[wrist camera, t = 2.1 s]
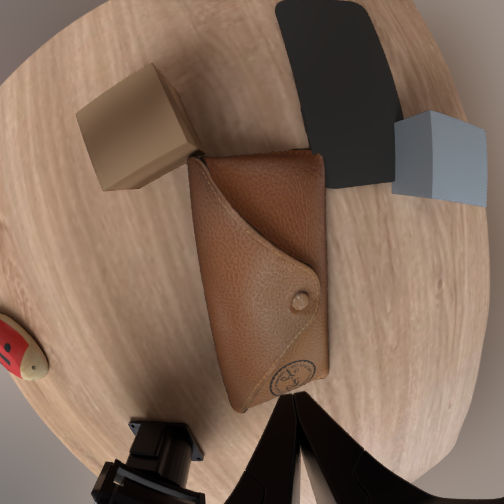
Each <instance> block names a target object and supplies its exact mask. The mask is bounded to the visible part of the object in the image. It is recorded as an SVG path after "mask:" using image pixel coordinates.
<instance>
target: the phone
mask: <svg viewBox="0 0 504 504" xmlns="http://www.w3.org/2000/svg"><path fill="white" fill-rule="evenodd" d="M275 13H276V17H277V20H278V23H279V26H280V30H281V33H282V36H283V40H284V43H285V47H286V50H287V54H288V57H289V61H290V65H291V68H292V72H293V76H294V80H295V84H296V88H297V92H298V96H299V100H300V105H301V112H302V117H303V121H304V126H305V131H306V133H307V137H308V142H309V147H310V149H311V151H312V154H313V155H315V154H317V153H319V154H320V155H321V156H323V160H324V166H325V187H326V188H331V189H338V188H346V187H354V186H362V185H370V184H378V183H386V182H395V127H394V123H396V122H398V121H401V120H404V118H403V114H402V110H401V106H400V102H399V98H398V95H397V91H396V88H395V84H394V81H393V78H392V75H391V71H390V68H389V65H388V63H387V60H386V57H385V54H384V51H383V49H382V46H381V43H380V41H379V38H378V36H377V33H376V31H375V29H374V26H373V24H372V22H371V19H370V17H369V15H368V13H367V12H366V10H365V9H364V8H363V7H362V6H361V5H359V4H357V3H354V2H350V1H340V0H284V1H281V2H279V3H278V4H277V5H276V8H275Z"/></svg>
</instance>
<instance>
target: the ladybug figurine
mask: <svg viewBox="0 0 504 504" xmlns="http://www.w3.org/2000/svg"><path fill="white" fill-rule="evenodd" d="M0 363H1V364H2V365H3V366H4V367H5V368H6V369H7V370H8V371H10V372H11V373H13V374H14V375H16V376H18V377H20V378H22V379H25V380H31V381H33V380H39V379H41V378H43V377H45V376H46V375H47V374H48V363H47V360H46V358H45V356H44V354H43V352H42V351H41V349H40V347H39V346H38V345H37V343H36V342H35V341H34V339H33V338H32V337H31V336H30V335H29V334H28V333H27V332H26V331H25V330H24V329H23V328H22V327H21V326H20V325H19V324H18V323H16V322H15V321H14V320H13V319H11V318H9V317H8V316H6V315H4V314H0Z"/></svg>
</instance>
